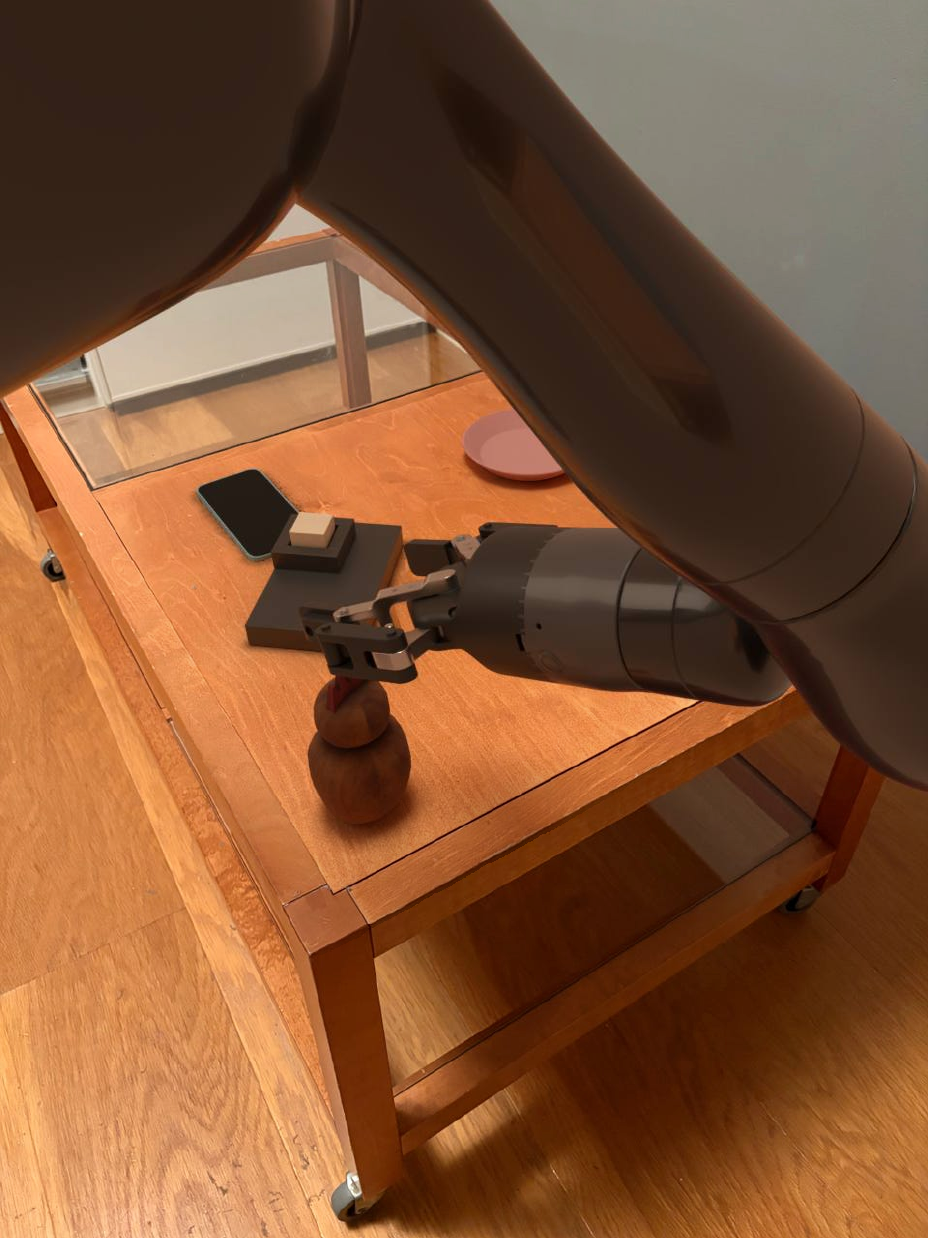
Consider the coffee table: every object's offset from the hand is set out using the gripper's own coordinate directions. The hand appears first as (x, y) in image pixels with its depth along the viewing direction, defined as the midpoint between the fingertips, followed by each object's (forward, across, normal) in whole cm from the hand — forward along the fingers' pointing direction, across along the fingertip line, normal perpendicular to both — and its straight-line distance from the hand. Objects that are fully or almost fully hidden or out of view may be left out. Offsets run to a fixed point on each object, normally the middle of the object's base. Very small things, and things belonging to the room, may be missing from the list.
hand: (361, 587), depth 56 cm
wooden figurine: (+7, 0, +17) cm, 19 cm away
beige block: (+27, -16, +5) cm, 31 cm away
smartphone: (+39, -19, +4) cm, 44 cm away
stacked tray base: (+25, -15, +9) cm, 30 cm away
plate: (+25, -45, +7) cm, 52 cm away
